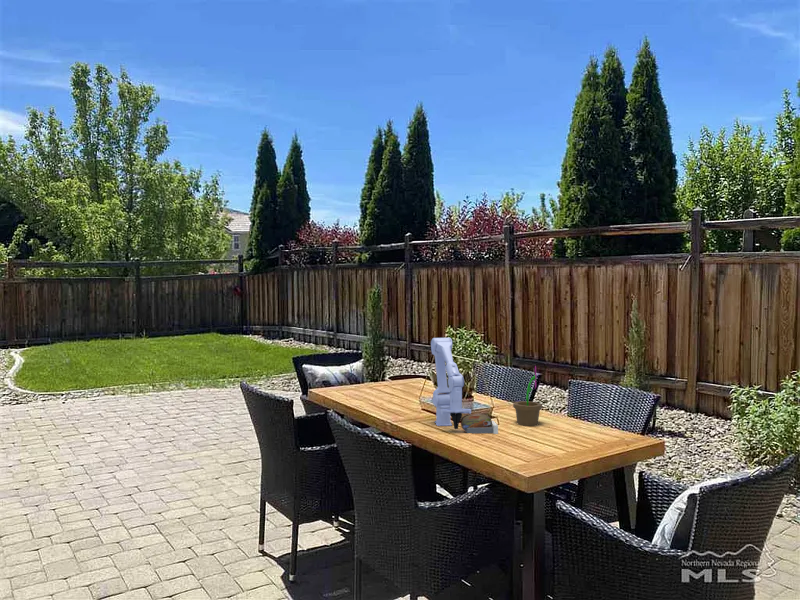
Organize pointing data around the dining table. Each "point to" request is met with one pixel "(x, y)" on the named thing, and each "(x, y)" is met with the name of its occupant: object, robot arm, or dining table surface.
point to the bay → (484, 429)
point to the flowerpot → (528, 409)
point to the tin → (475, 421)
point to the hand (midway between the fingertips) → (455, 428)
